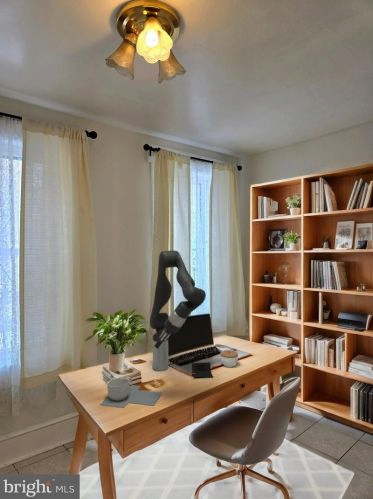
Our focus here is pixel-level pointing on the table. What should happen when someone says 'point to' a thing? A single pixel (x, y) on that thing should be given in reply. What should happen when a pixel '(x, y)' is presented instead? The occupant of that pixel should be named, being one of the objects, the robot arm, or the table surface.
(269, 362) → the table surface
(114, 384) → the teacup
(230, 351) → the lidded jar
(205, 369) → the handheld gaming console
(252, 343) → the table surface
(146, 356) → the table surface
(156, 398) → the t mat
